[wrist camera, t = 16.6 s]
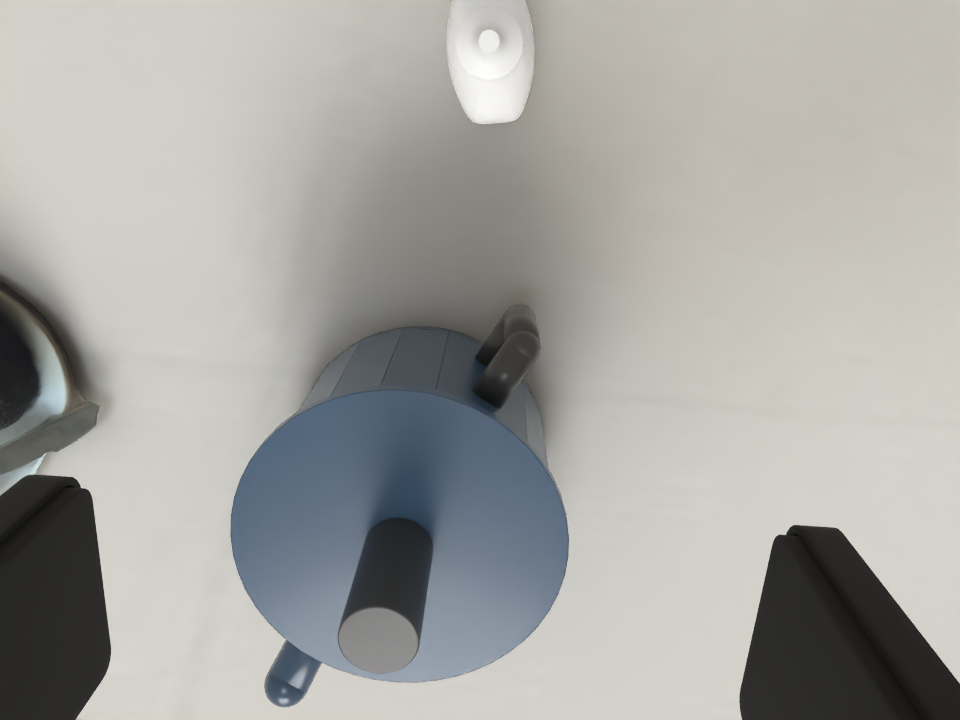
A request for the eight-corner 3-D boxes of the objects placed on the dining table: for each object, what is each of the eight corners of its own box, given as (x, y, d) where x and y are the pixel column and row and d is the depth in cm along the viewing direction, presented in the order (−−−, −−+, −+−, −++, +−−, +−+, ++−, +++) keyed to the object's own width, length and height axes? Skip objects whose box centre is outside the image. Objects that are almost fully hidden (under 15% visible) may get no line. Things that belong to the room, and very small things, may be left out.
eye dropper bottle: (559, 19, 36) (587, -15, 24) (508, 132, 37) (512, 150, 26) (474, -24, 35) (463, -79, 24) (426, 93, 37) (395, 94, 26)
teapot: (591, 410, 42) (618, 501, 33) (457, 582, 46) (446, 708, 37) (383, 276, 40) (347, 333, 31) (260, 470, 44) (195, 573, 35)
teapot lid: (633, 494, 33) (667, 596, 27) (451, 712, 38) (440, 848, 31) (342, 313, 31) (298, 375, 24) (183, 568, 35) (107, 682, 28)
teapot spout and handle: (546, 314, 38) (557, 365, 31) (323, 623, 45) (289, 724, 38) (510, 291, 38) (513, 337, 31) (290, 606, 45) (251, 704, 38)
